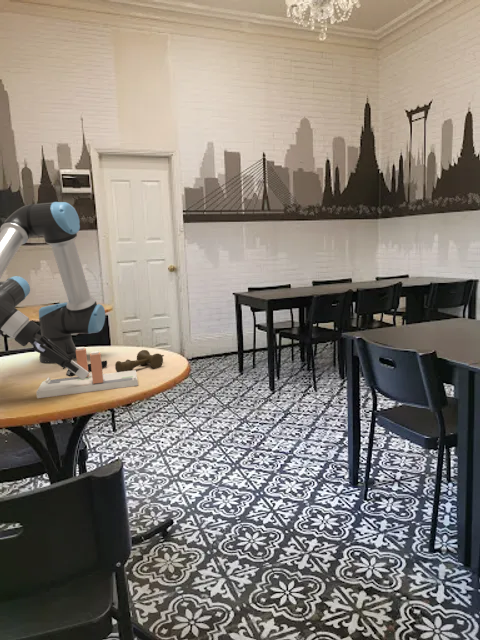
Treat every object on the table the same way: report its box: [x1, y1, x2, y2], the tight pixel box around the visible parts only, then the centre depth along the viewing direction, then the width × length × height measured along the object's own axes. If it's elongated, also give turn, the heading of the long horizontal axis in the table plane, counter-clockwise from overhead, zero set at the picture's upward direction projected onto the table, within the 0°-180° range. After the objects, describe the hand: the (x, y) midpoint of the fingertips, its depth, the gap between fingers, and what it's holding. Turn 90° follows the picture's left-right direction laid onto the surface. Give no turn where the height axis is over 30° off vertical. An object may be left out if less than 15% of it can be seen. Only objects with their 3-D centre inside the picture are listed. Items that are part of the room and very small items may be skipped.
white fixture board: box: [36, 369, 139, 399], centre depth 151 cm, size 14×30×3 cm, turn 105°
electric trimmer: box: [65, 360, 108, 378], centre depth 171 cm, size 4×16×3 cm, turn 134°
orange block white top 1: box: [75, 346, 89, 377], centre depth 154 cm, size 3×3×10 cm
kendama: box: [114, 349, 165, 372], centre depth 170 cm, size 6×10×20 cm
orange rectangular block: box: [89, 350, 104, 384], centre depth 146 cm, size 3×3×10 cm
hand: (86, 376), depth 145 cm, fingers closed
